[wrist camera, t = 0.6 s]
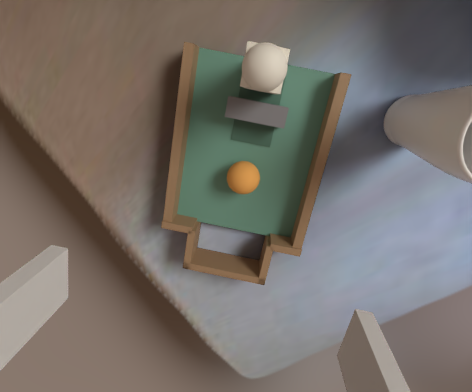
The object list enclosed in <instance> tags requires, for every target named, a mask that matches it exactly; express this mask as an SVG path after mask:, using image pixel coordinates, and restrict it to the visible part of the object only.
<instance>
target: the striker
mask: <svg viewBox="0 0 472 392" xmlns="http://www.w3.org/2000/svg"><path fill="white" fill-rule="evenodd" d="M289 53H290V49H287V48H282V47H278V46H276V45H275V44H272V43H267V42H263V43H256V42H251V41H248V43H247V49H246V54H245V56H244V59H243V62H242V76H241V82H240V86H241V87H243V88H246V89H251V90H256V91H260V92H266V93H271V94H281V89H282V85H283V80H284V79H285V76H286V74H287V67H288V65H287V62H288V58H289ZM288 110H289V108H288V107H284V106H279V105H274V104H269V103H264V102H259V101H254V100H249V99H244V98H239V97H234V96H228V100H227V106H226V112H225V117H228V118H233V119H238V120H243V121H248V122H253V123H258V124H263V125H268V126H273V127H278V128H283V129H284V127H285V123H286V118H287V114H288Z"/></svg>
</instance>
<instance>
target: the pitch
mask: <svg viewBox="0 0 472 392" xmlns="http://www.w3.org/2000/svg"><path fill="white" fill-rule="evenodd" d="M243 59H244V56H240V55H235V54H230V53H224V52H219V51H214V50H209V49H204V48H199V47H198V46H197V45H195V44H192V43H187V42H184V48H183V56H182V64H181V73H180V81H179V90H178V98H177V107H176V115H175V123H174V132H173V140H172V149H171V157H170V166H169V174H168V182H167V191H166V199H165V208H164V216H163V221H162V225H161V228H165V229H169V230H174V231H179V232H184V233H188V236H187V243H186V249H185V256H184V263H183V268H185V269H190V270H194V271H199V272H204V273H209V274H214V275H218V276H223V277H228V278H233V279H238V280H242V281H247V282H252V283H257V284H261V285H264V284H265V280H266V276H267V272H268V268H269V264H270V260H271V256H272V253H273V251H276V252H281V253H285V254H290V255H295V256H300V255H301V251H302V249H301V248H302V245H303V241H304V238H305V234H306V231H307V227H308V224H309V220H310V217H311V213H312V210H313V206H314V203H315V199H316V196H317V192H318V189H319V186H320V182H321V179H322V175H323V172H324V168H325V165H326V161H327V158H328V154H329V151H330V147H331V144H332V140H333V137H334V133H335V130H336V126H337V123H338V119H339V116H340V113H341V109H342V106H343V102H344V99H345V95H346V92H347V88H348V85H349V81H350V78H351V74H346V73H337V74H332V73H327V72H322V71H317V70H312V69H306V68H301V67H296V66H291V65H288V67H287V74H286V76H285V79H284V80H283V85H282V89H281V94H271V93H266V92H260V91H256V90H251V89H246V88H243V87H241V86H240V82H241V76H242V62H243ZM228 96H234V97H239V98H244V99H249V100H254V101H259V102H264V103H269V104H274V105H279V106H284V107H288V108H289V110H288V114H287V118H286V123H285V127H284V129H283V128H278V127H273V126H268V125H263V124H258V123H253V122H248V121H243V120H238V119H233V118H228V117H225V112H226V106H227V100H228ZM239 161H247V162H250V163H252V164H254V165H255V166H256V167H257V169H258V171H259V174H260V181H259V184H258V186H257V188H256V189H255V190H254V191H253V192H251V193H248V194H238V193H236V192H234V191H233V190H232V189H231V188H230V187H229V185H228V183H227V173H228V170H229V168H230V167H231V166H232V165H233V164H235V163H236V162H239ZM201 222H203V223H208V224H213V225H218V226H222V227H227V228H232V229H237V230H242V231H247V232H252V233H256V234H261V235H265V239H264V243H263V247H262V251H261V255H260V260H255V259H250V258H245V257H240V256H235V255H231V254H226V253H221V252H216V251H211V250H206V249H202V248H197V245H198V239H199V233H200V227H201Z"/></svg>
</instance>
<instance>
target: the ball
mask: <svg viewBox="0 0 472 392" xmlns="http://www.w3.org/2000/svg"><path fill="white" fill-rule="evenodd" d="M259 181H260V174H259V171H258V169H257V167H256V166H255V165H254V164H252V163H250V162H247V161H239V162H236V163H235V164H233V165H232V166H231V167H230V168H229V170H228V173H227V183H228V185H229V187H230V188H231V189H232V190H233V191H234V192H236V193H238V194H248V193H251V192H253V191H254V190H255V189H256V188H257V186H258V184H259Z"/></svg>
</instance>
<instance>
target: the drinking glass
mask: <svg viewBox="0 0 472 392" xmlns="http://www.w3.org/2000/svg"><path fill="white" fill-rule="evenodd" d="M384 131H385V134H386V136H387V137H388V138H389V140H391V141H392V142H393V143H395V144H397V145H399V146H402V147H404V148H405V149H407V150H409V151H410V152H412V153H413V154H415V155H417V156H418V157H420V158H422V159H423V160H425V161H426V162H428V163H430V164H431V165H433V166H434V167H436V168H438V169H440V170H441V171H443V172H445V173H447V174H449V175H451V176H454V177H456V178H458V179H461V180H463V181H466V182H469V183H471V184H472V85H469V86H463V87H458V88H453V89H447V90H442V91H436V92H431V93H425V94H412V95H407V96H404V97H402V98H400V99H398V100H397V101H395V102H394V103H393V104H392V105H391V106H390V107H389V109H388V110H387V112H386V114H385V117H384Z"/></svg>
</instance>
